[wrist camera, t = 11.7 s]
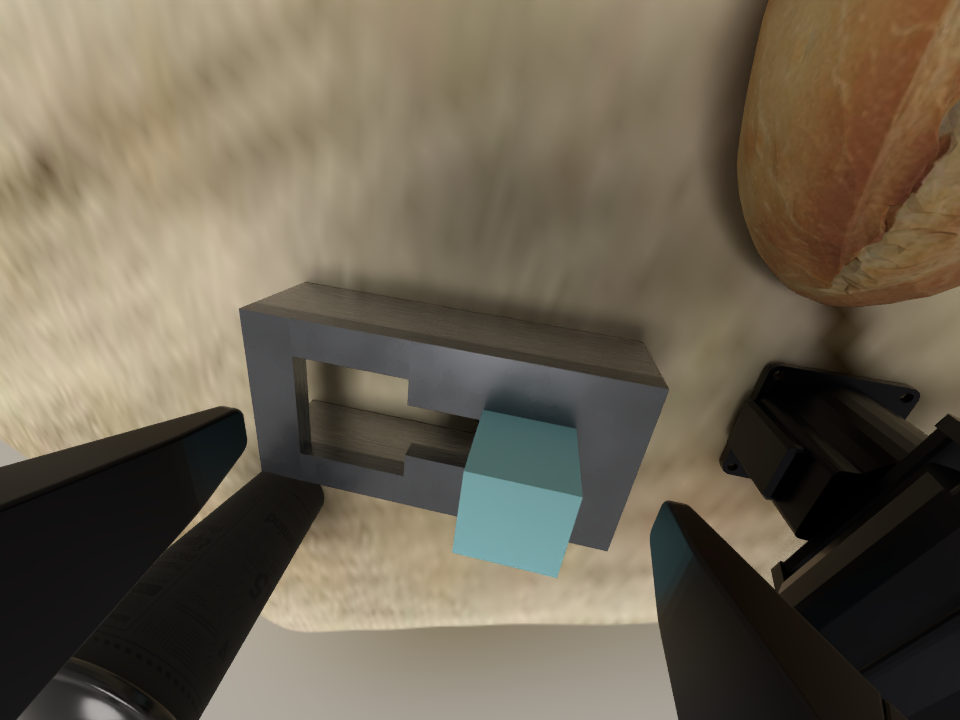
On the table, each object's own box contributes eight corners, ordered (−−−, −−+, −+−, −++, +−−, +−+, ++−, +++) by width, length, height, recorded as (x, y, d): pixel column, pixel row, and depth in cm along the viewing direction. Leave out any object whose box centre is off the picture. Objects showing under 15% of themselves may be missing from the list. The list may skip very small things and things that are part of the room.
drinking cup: (272, 532, 31) (-130, 1031, 13) (224, 452, 28) (-373, 940, 10) (358, 527, 29) (28, 1106, 11) (316, 439, 26) (-222, 1019, 8)
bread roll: (679, 292, 19) (758, 361, 11) (744, -171, 13) (999, -644, 5) (922, 287, 17) (1198, 366, 10) (1132, -253, 11) (2274, -1111, 4)
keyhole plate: (642, 341, 20) (668, 389, 15) (597, 480, 23) (607, 551, 19) (305, 282, 21) (238, 308, 17) (314, 419, 25) (261, 471, 21)
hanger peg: (577, 385, 20) (590, 494, 13) (559, 455, 22) (561, 582, 15) (491, 369, 20) (458, 465, 13) (480, 439, 22) (446, 554, 15)
